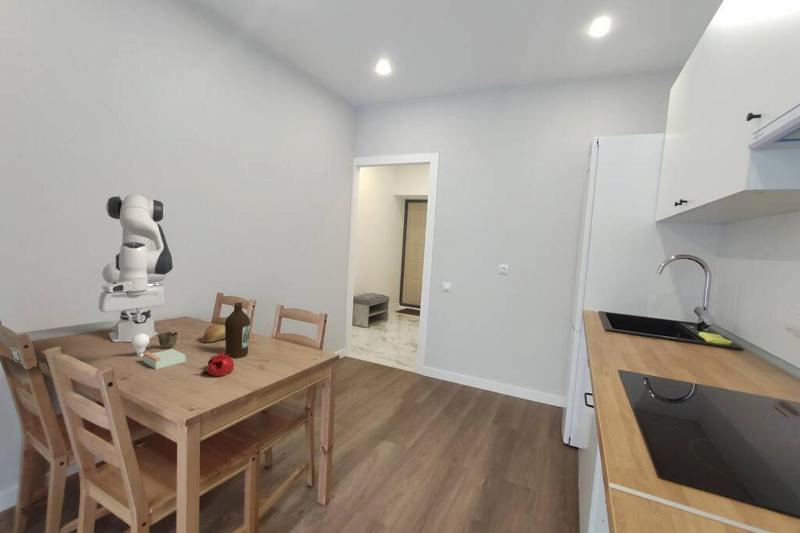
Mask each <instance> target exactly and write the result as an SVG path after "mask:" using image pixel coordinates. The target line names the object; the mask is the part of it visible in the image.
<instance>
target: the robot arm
mask: <svg viewBox="0 0 800 533" xmlns="http://www.w3.org/2000/svg"><path fill="white" fill-rule="evenodd" d="M105 210H106V212H107V214H108V216H109V217H110V218H111V219H114V220H115V219H116V220H119V222H120V225H121V227H122V242H121V243H122V244H121V245H120V250H119V253H118V254H116V255H115V262H113V263H107V265H105V267H104V268H103V269H102V278H103V280H104V281H105V282H106V283H105V284H103V285H102V290H103V291H102V292H101V293H100V295H99V301H98V310H99V311H100V312H102V313H112V312H113V313H114V312H120V314H119V315H120V316H119V319H118V321H116V323H115V324H114V326H113V325H112V326H111V331H112V332H108V333H109V334H108V336H109V338H110V340H111V341H112V342H113V343H118V342H119V343H120V342H122V343H123V342H124V343H127V342H128V343H131V340H132V338H133V337H134V336H135V335H137V334H140V333H143V334H146V335H148V336H149V338H150V339H152V338H153V337H155V336H156V335H158V332H157V331H155V324H154V323H155V321H154V319H153V318H151V316H152V315H151V314H152V310H151V309H150V308H154V307H155V308H157V307H162V306H164V305H165V303H166V302H165V301H166V300H165V295H164V293H165V287H164V285H163V284H161V283H158V282H162V281H164V279H165V278H166V277H167V274H168V273H170V272H171V271H172V270H173V267H174V258H173V256H172V254H171V251H170V249H169V245H168V242H167V239H166V236H165V233H164V230H163V227H162V226H161V225H160V224H159V222H160V221H162V220H163V219H164V217H165V215H166V208H165V205H164V203H163V202H162V201H160V200H158V199H157V200H156V199H149V198H147V197H145V196H143V195H141V194H129V195H127V196H124V197H123V196H121V197H120V196H119V195H118V196H111V197H110V198H107V201H106V204H105ZM151 241H153V242H154V246H155V250H152V243H151Z"/></svg>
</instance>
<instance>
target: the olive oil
mask: <svg viewBox="0 0 800 533" xmlns="http://www.w3.org/2000/svg"><path fill="white" fill-rule="evenodd" d="M233 309H234V310H233V311H232V312H231V313H230V314H229V315H228V316H227V317H226V318H225V321H224V322H225V323H224V325H225V339H224V340H225V342H224V343H225V355H227V356H230V357H231V358H232V359H240V358H244V357H246V356H247V355H248V354H249V344H250V343H249V342H250V332H251V331H250V329H251V319H250V317H249V316H248V314H247V313H245V312H244V310H243V302H242V301H235V302H234V305H233ZM228 354H232V355H228Z"/></svg>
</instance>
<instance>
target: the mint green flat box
mask: <svg viewBox="0 0 800 533" xmlns="http://www.w3.org/2000/svg"><path fill="white" fill-rule="evenodd" d="M186 361H187V360H186V354H184V353H183V352H180V351H178V350H176V349H173V348H172V349H171V348H169V349H166V350H163V351H157V352H153V353H151V352H149V351H147V352H144V356H143V363H144V364H146V365H148V366H150V367H151V368H153V369H155V370H157V369H158V370H159V369H162V368H166V367H170V366H174V365H177V364H181V363H185V362H186Z"/></svg>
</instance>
